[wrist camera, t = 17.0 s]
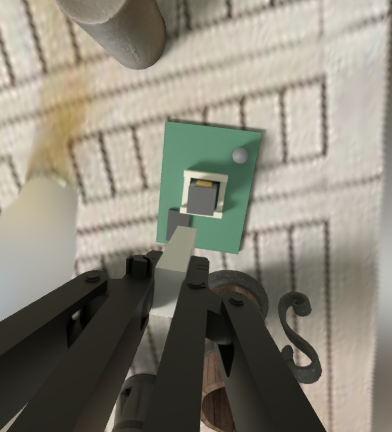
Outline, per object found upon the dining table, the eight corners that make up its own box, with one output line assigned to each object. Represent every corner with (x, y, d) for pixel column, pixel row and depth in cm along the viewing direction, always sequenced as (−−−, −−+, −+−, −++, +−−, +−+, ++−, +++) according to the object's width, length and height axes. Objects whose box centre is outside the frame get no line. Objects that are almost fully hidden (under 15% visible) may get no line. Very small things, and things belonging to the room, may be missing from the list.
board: (237, 252, 43) (239, 261, 39) (157, 240, 44) (151, 248, 40) (260, 133, 37) (265, 130, 33) (166, 122, 38) (161, 118, 34)
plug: (213, 204, 40) (213, 216, 32) (192, 201, 40) (186, 213, 32) (216, 180, 39) (216, 187, 31) (194, 178, 39) (188, 184, 31)
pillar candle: (150, -15, 33) (96, -147, 18) (176, 54, 35) (146, -17, 20) (96, 18, 35) (9, -78, 20) (124, 82, 37) (62, 36, 22)
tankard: (204, 345, 50) (196, 464, 31) (176, 282, 46) (147, 374, 27) (309, 320, 46) (377, 440, 27) (288, 249, 42) (348, 330, 23)
